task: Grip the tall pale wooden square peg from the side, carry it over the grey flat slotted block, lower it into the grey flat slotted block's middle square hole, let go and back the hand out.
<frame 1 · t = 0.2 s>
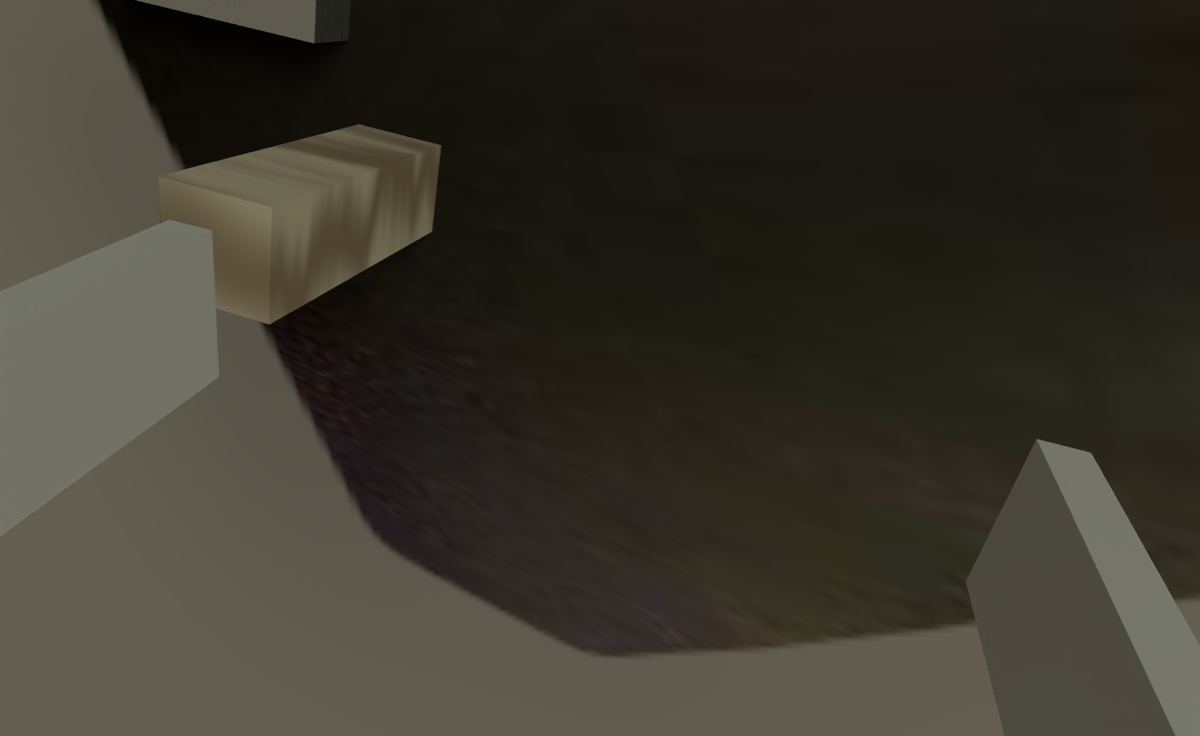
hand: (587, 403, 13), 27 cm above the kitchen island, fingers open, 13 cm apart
peg: (395, 178, 43), on the kitchen island
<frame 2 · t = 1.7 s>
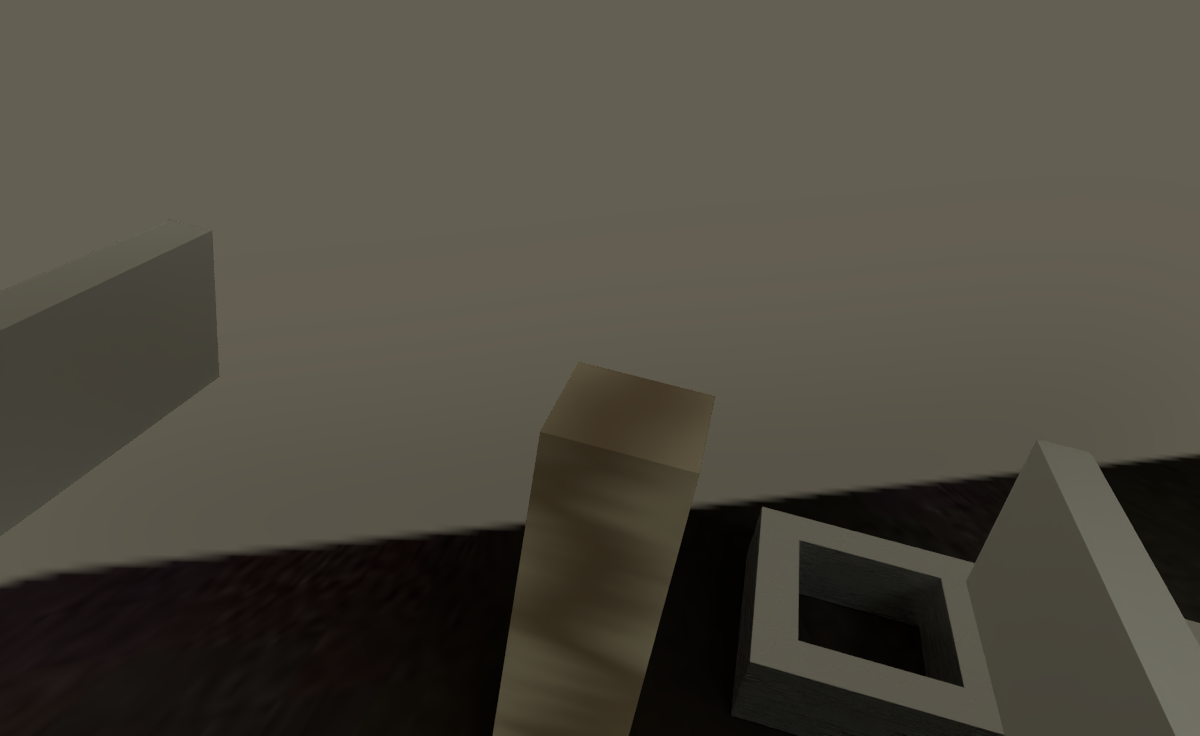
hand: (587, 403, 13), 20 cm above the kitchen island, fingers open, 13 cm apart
peg: (564, 733, 31), on the kitchen island
grey flat slotted block: (1040, 711, 36), on the kitchen island
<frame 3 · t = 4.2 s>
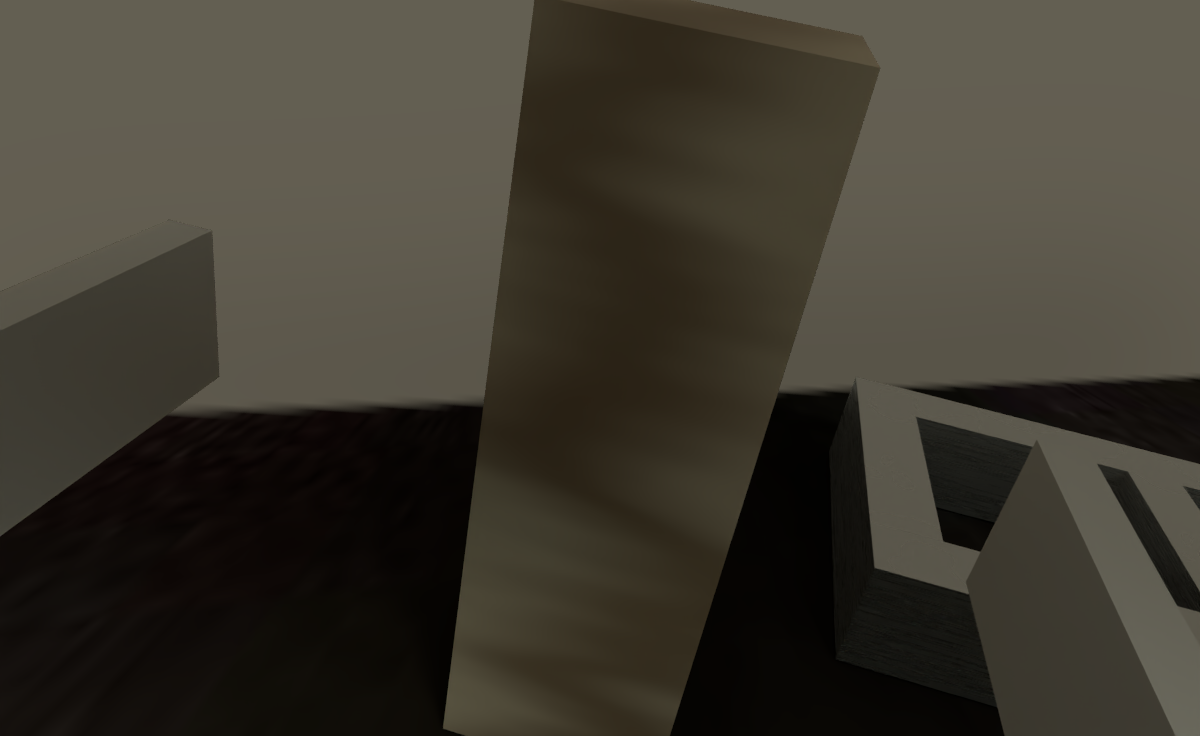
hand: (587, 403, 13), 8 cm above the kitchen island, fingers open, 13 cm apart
peg: (572, 679, 19), on the kitchen island
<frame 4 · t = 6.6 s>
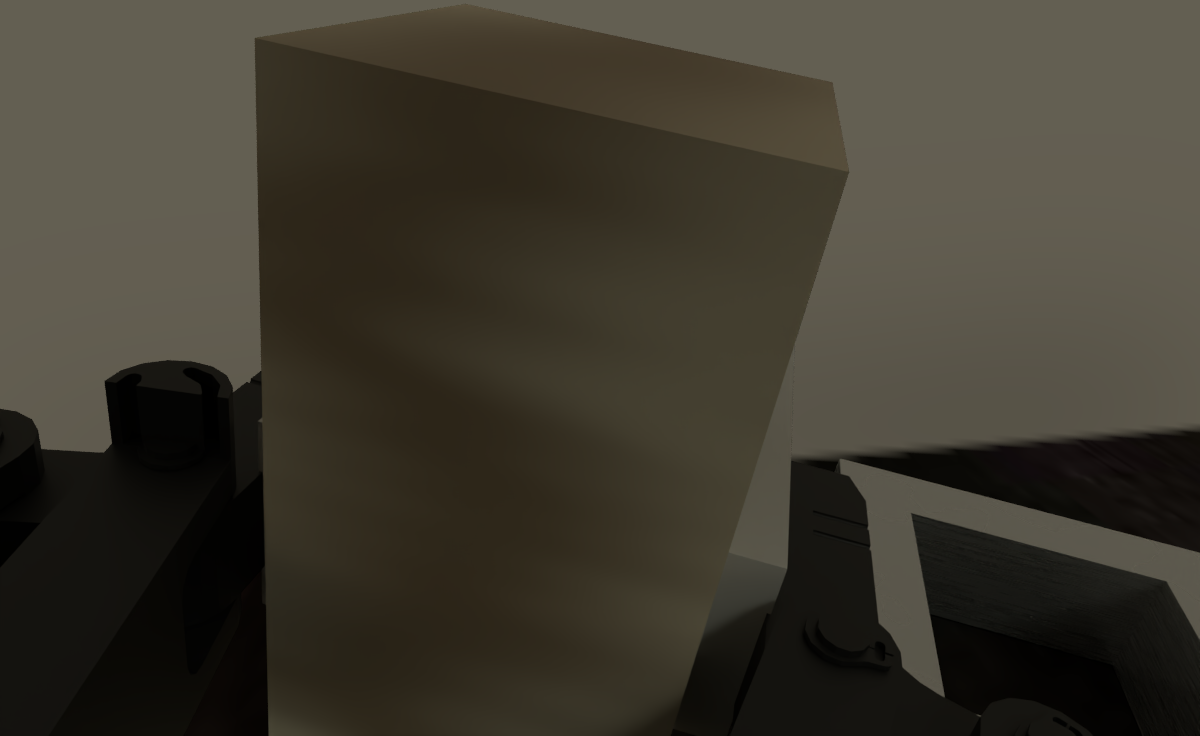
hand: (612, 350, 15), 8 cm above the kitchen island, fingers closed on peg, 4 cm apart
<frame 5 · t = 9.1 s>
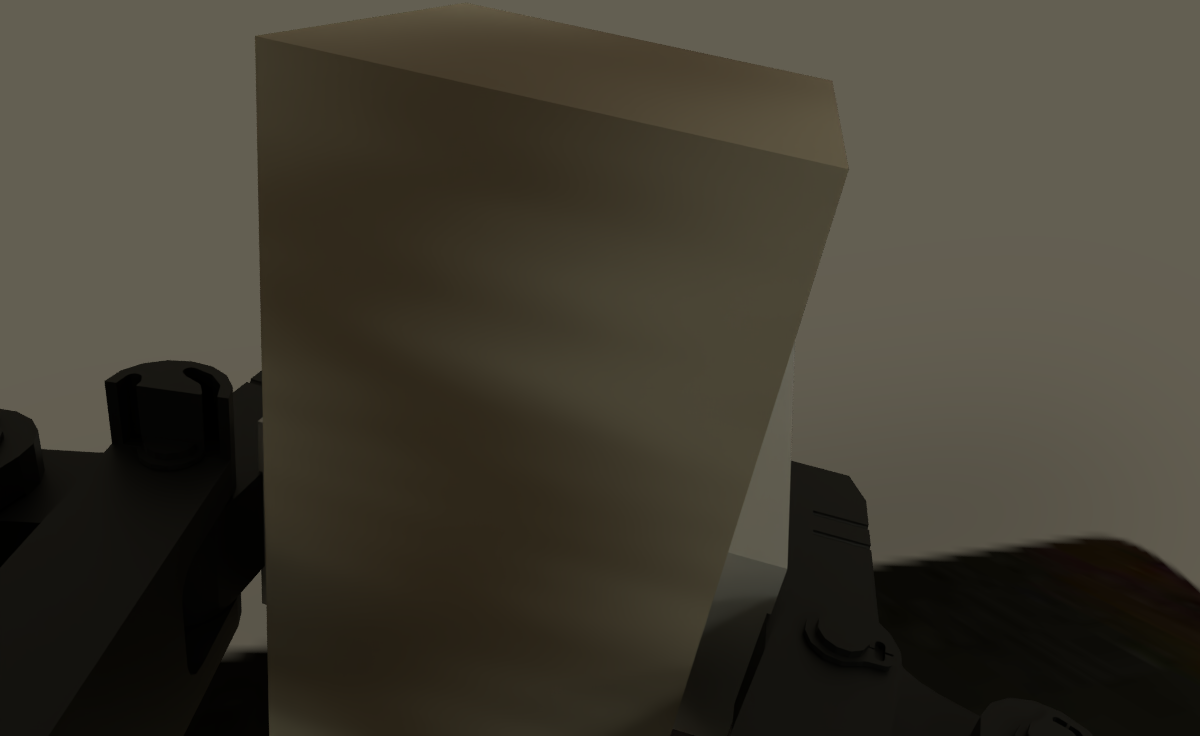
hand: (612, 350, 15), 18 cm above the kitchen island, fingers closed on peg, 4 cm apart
when the fingers open (10 cm above the kitchen island, at t = 11.7 s): peg drops 1 cm, resting in grey flat slotted block.
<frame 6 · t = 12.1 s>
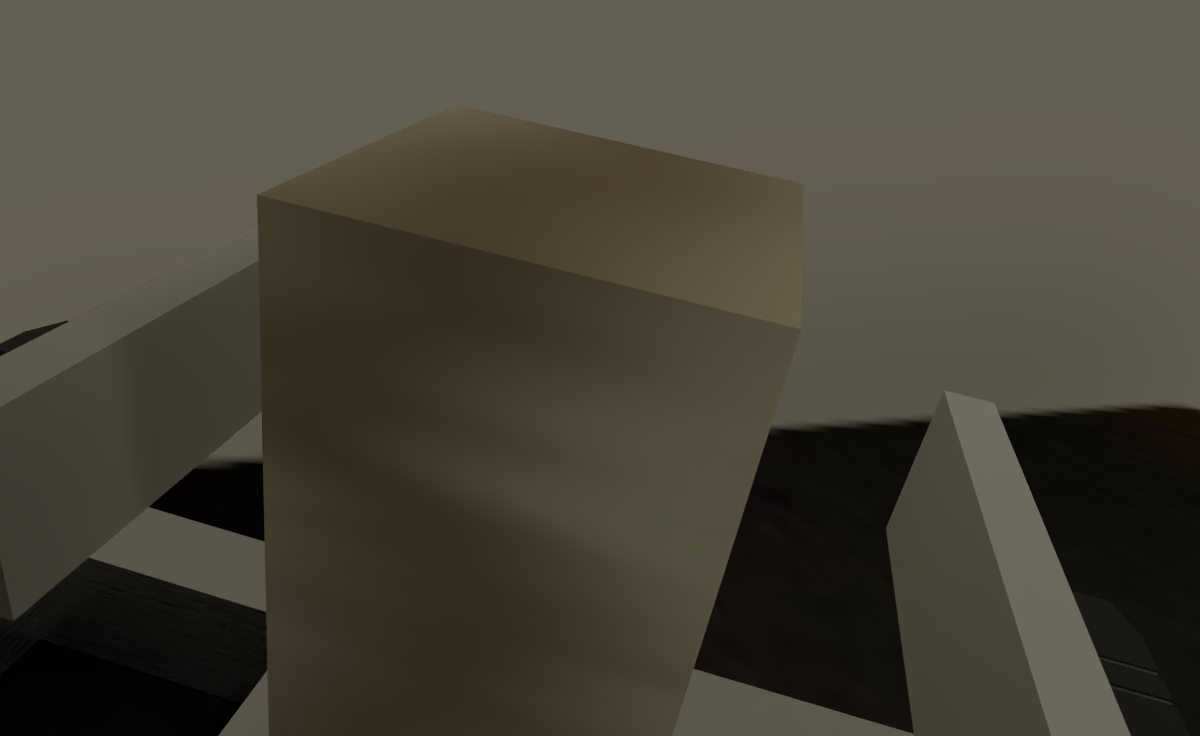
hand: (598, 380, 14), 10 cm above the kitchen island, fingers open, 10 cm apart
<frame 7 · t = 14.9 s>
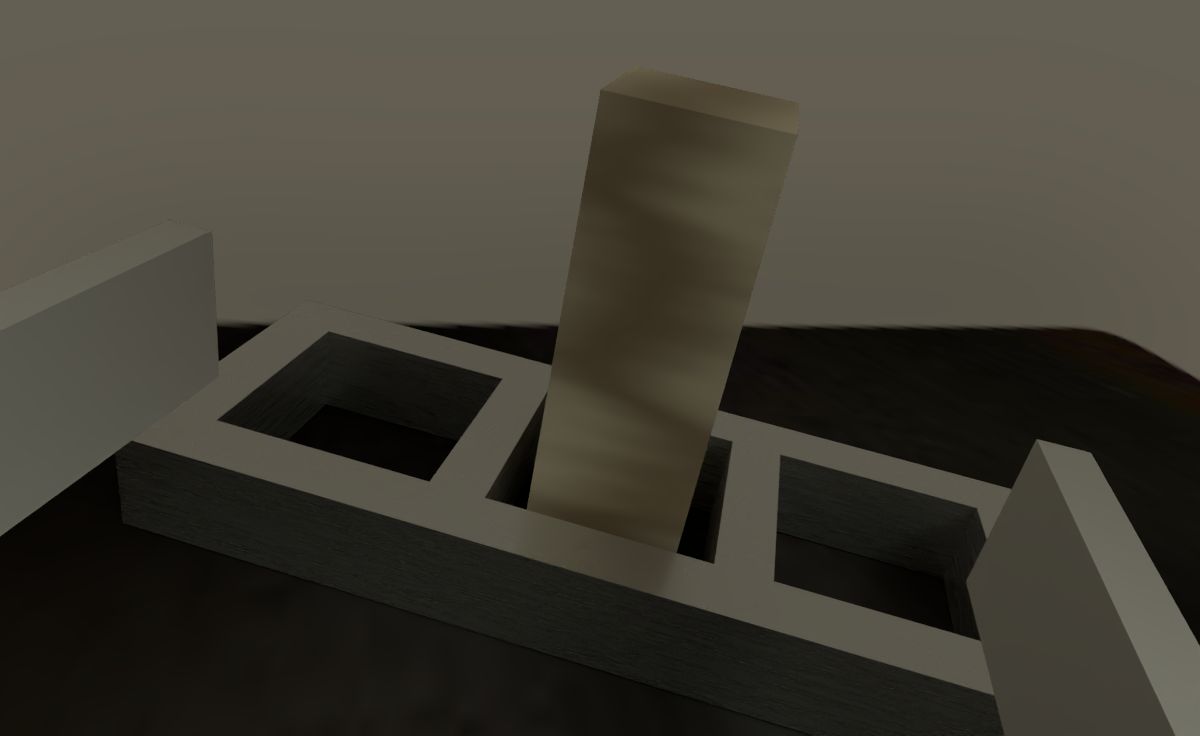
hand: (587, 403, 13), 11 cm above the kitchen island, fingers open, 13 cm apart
peg: (602, 544, 27), resting in grey flat slotted block
grey flat slotted block: (602, 543, 27), on the kitchen island
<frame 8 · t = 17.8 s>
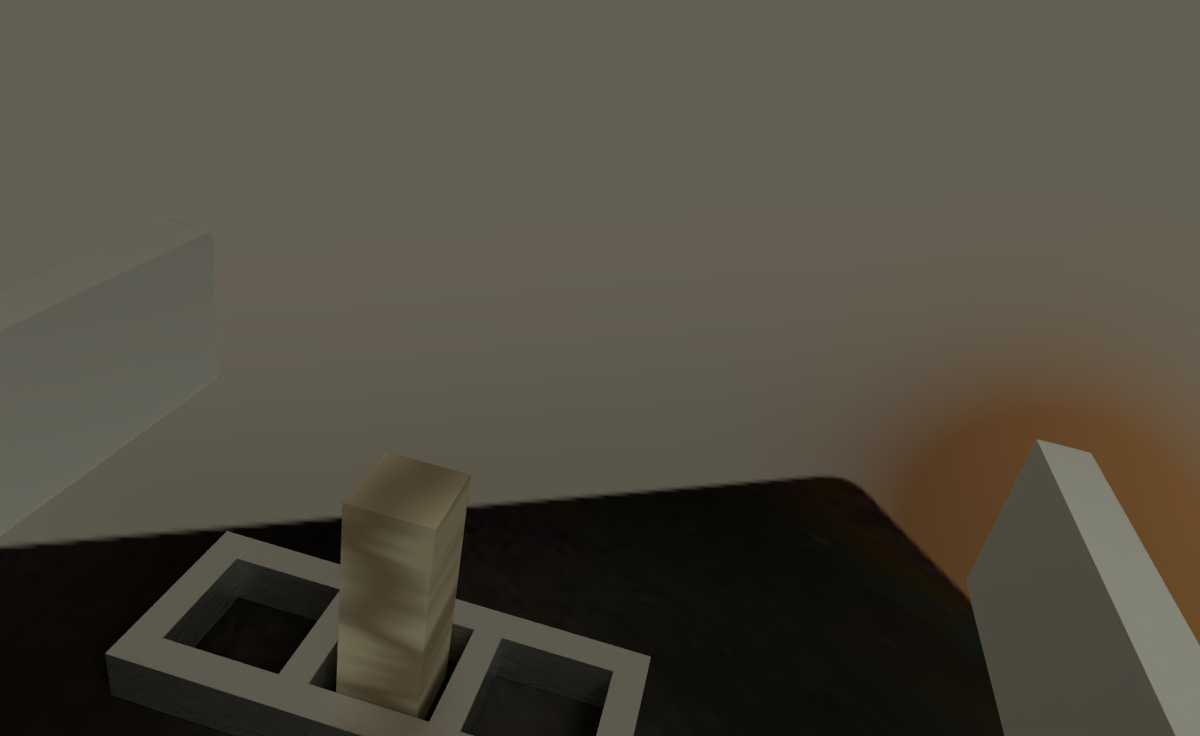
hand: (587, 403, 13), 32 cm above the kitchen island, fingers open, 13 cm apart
peg: (392, 694, 46), resting in grey flat slotted block
grey flat slotted block: (392, 694, 46), on the kitchen island
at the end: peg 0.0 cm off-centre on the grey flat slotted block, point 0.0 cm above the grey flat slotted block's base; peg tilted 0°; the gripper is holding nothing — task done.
